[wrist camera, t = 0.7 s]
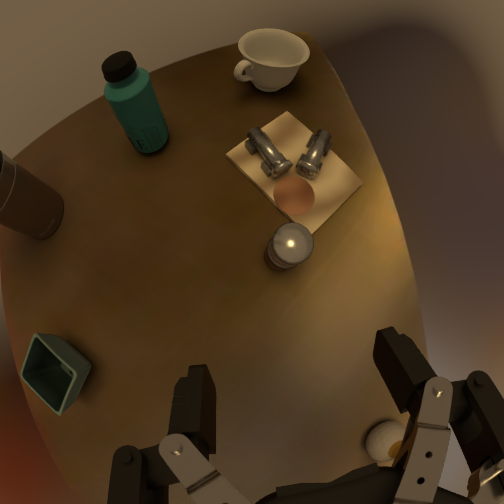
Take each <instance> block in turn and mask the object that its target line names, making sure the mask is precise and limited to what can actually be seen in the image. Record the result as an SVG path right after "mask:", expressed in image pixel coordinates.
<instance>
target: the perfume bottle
mask: <svg viewBox="0 0 504 504" xmlns="http://www.w3.org/2000/svg"><path fill="white" fill-rule="evenodd" d="M405 430H406V427H405V426H404V425H403V424H401V423H399V422H395V421H386V422H383V423H381V424H379V425H377V426H376V427H375V428H373V429H372V430H371V432H370V433H369V435H368V437H367V439H366V450H367V452H368V454H369V455H370V456H371V457H372V458H373V459H375V460H377V461H382V462H383V461H390V460H393V459H395V457H396V455H397V453H398V451H399V449H400V446H401V443H402V440H403V437H404V433H405Z"/></svg>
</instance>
